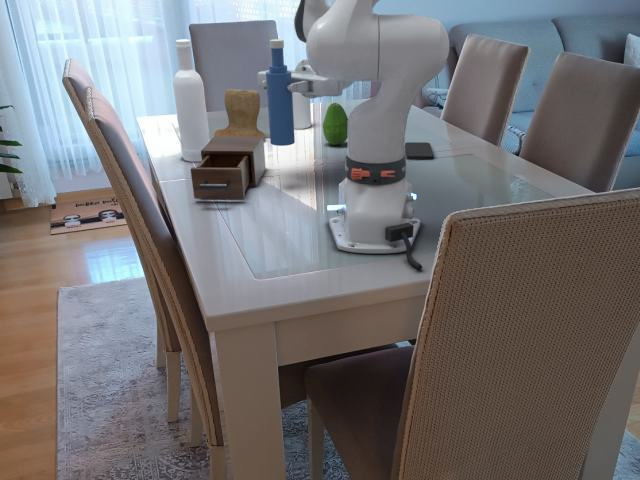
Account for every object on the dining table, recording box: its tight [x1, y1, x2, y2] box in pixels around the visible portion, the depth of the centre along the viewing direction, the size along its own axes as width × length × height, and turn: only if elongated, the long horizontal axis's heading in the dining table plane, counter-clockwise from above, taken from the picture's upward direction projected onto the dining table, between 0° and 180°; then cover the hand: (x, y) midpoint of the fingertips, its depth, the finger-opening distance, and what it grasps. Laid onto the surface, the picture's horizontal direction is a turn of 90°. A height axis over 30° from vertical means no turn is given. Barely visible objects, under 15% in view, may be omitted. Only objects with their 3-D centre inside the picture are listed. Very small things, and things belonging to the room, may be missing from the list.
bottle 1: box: [172, 38, 211, 163], centre depth 171 cm, size 8×8×30 cm
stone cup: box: [213, 88, 266, 139], centre depth 192 cm, size 15×12×15 cm
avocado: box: [322, 102, 349, 146], centre depth 188 cm, size 8×8×12 cm
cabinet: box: [201, 135, 266, 188], centre depth 160 cm, size 15×13×9 cm
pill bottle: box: [292, 92, 312, 130], centre depth 208 cm, size 8×8×15 cm
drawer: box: [190, 154, 252, 200], centre depth 148 cm, size 18×11×7 cm, turn 177°
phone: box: [404, 141, 434, 160], centre depth 183 cm, size 7×1×15 cm
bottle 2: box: [266, 38, 296, 147], centre depth 145 cm, size 6×6×22 cm
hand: (277, 87), depth 144 cm, fingers closed on bottle 2, 6 cm apart
